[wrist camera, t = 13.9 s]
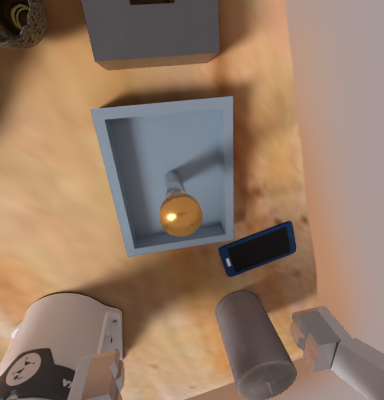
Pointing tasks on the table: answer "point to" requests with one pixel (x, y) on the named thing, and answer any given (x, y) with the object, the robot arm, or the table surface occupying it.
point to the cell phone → (258, 249)
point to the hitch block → (152, 32)
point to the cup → (12, 29)
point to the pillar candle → (253, 347)
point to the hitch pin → (179, 208)
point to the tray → (169, 167)
